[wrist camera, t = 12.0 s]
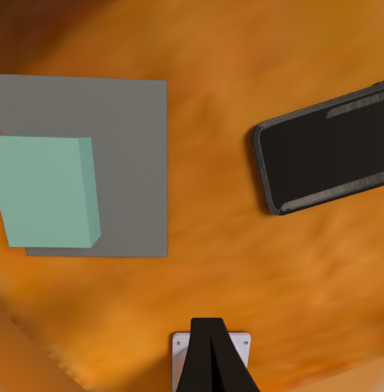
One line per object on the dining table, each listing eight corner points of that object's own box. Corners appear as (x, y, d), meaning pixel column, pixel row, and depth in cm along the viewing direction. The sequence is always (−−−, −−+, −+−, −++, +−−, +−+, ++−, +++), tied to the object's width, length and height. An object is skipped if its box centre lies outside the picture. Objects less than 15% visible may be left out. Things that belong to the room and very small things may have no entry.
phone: (453, 164, 17) (270, 219, 18) (438, 162, 18) (266, 214, 19) (458, 57, 15) (249, 124, 16) (440, 61, 16) (245, 125, 17)
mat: (167, 253, 20) (167, 257, 19) (32, 252, 19) (27, 255, 19) (167, 82, 16) (166, 80, 15) (-5, 75, 15) (-12, 73, 15)
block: (91, 247, 16) (9, 246, 16) (100, 235, 18) (28, 234, 18) (78, 138, 14) (-18, 135, 14) (90, 137, 16) (7, 135, 16)
